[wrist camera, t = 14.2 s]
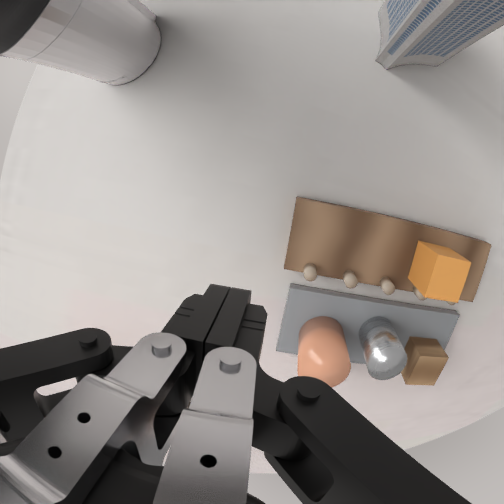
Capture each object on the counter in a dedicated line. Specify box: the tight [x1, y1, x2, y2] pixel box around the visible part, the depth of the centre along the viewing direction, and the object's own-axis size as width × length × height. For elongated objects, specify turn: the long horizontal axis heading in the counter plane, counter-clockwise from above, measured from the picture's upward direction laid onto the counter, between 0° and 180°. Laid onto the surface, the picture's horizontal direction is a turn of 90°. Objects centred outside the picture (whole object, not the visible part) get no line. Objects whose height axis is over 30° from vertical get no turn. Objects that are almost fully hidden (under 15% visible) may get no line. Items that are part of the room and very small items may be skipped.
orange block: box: [408, 240, 471, 303], centre depth 24 cm, size 4×4×5 cm
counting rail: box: [284, 197, 491, 305], centre depth 27 cm, size 23×7×3 cm, turn 82°
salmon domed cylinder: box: [298, 316, 351, 387], centre depth 28 cm, size 5×5×6 cm
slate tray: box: [276, 283, 460, 364], centre depth 31 cm, size 8×21×1 cm, turn 82°
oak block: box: [401, 336, 449, 385], centre depth 28 cm, size 4×4×4 cm
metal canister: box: [358, 316, 407, 380], centre depth 27 cm, size 4×4×6 cm
